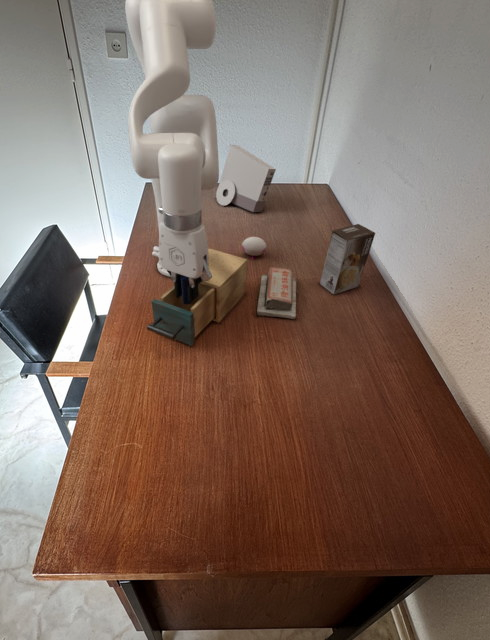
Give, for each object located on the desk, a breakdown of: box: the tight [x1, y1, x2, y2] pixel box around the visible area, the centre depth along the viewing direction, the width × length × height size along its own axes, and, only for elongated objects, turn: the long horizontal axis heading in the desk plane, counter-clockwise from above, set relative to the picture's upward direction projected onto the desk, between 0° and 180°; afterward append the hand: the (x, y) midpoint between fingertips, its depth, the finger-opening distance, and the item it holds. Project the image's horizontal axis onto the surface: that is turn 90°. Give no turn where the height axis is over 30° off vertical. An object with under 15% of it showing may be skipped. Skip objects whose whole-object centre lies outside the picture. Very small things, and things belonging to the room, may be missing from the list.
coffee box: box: [319, 223, 376, 295], centre depth 100 cm, size 9×6×16 cm
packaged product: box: [256, 266, 297, 320], centre depth 99 cm, size 18×5×10 cm
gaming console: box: [215, 144, 277, 213], centre depth 138 cm, size 23×8×20 cm, turn 43°
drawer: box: [146, 283, 217, 346], centre depth 87 cm, size 18×10×9 cm, turn 150°
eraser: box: [181, 275, 192, 304], centre depth 84 cm, size 2×2×7 cm
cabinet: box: [200, 247, 248, 324], centre depth 96 cm, size 15×12×11 cm
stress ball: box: [241, 236, 267, 260], centre depth 117 cm, size 8×8×7 cm
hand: (186, 296), depth 86 cm, fingers closed on eraser, 2 cm apart
